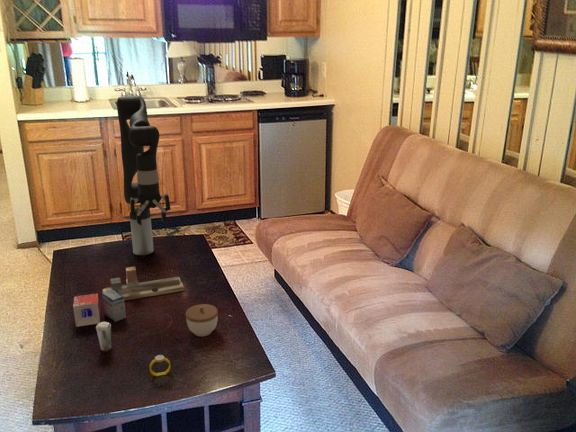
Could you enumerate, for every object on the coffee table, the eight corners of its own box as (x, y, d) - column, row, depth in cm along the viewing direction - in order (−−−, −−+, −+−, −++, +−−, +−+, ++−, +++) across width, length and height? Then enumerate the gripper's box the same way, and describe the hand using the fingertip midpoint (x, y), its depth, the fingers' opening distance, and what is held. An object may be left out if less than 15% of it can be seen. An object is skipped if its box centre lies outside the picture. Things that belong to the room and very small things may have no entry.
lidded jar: (183, 327, 180) (182, 303, 177) (213, 321, 184) (212, 297, 181) (191, 343, 170) (189, 317, 167) (222, 336, 174) (221, 311, 171)
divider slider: (127, 287, 204) (124, 267, 202) (137, 285, 206) (135, 265, 203) (128, 292, 200) (125, 271, 198) (138, 290, 202) (136, 270, 199)
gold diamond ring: (170, 370, 156) (170, 353, 155) (171, 376, 154) (171, 358, 152) (149, 373, 154) (149, 355, 153) (150, 378, 152) (150, 361, 150)
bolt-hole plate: (103, 292, 204) (101, 277, 202) (179, 280, 215) (178, 265, 213) (104, 303, 195) (102, 288, 193) (184, 290, 206) (183, 275, 204)
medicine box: (103, 314, 188) (101, 293, 185) (115, 310, 191) (112, 289, 188) (115, 322, 183) (112, 300, 180) (126, 317, 186) (124, 296, 183)
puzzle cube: (100, 312, 189) (97, 293, 187) (100, 323, 182) (97, 303, 180) (77, 316, 187) (74, 296, 184) (75, 327, 180) (72, 306, 177)
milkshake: (107, 354, 164) (103, 326, 161) (95, 349, 166) (92, 322, 163) (118, 348, 167) (115, 320, 164) (107, 343, 170) (103, 316, 167)
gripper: (165, 176, 196) (168, 217, 201) (126, 180, 190) (130, 222, 196) (169, 181, 189) (172, 223, 195) (129, 185, 184) (133, 228, 189)
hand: (151, 222), depth 195 cm, fingers open, 8 cm apart
